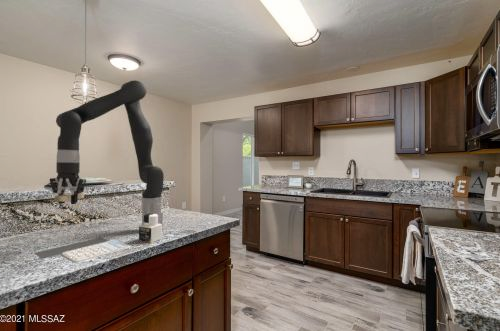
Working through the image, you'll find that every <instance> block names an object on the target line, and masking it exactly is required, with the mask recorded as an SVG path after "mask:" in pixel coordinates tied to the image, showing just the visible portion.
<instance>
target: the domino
mask: <svg viewBox="0 0 500 331" xmlns="http://www.w3.org/2000/svg"><path fill="white" fill-rule="evenodd" d="M64 194H65V195H59V196H58V195H55V196H54V202H58V201H63V202H65V203H66V202H71V195H72V194H71V193H64ZM84 198H85V193H84V192H82V193H79V194H78V200H79V199H84Z"/></svg>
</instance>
